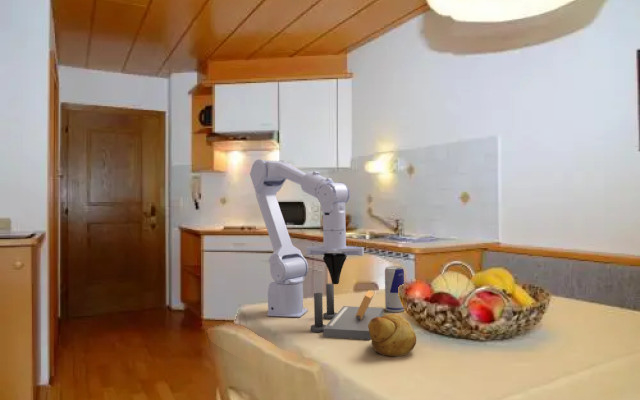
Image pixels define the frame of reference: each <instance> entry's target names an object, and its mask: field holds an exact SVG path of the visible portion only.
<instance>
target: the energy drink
mask: <svg viewBox="0 0 640 400" xmlns="http://www.w3.org/2000/svg"><path fill="white" fill-rule="evenodd" d="M402 284H404V285H405V269H404V267H402V266H396V265H395V266H391V265H390V266H386V267H385V269H384V293H385V294H384V297H385V301H384V302H385V303H384V305H385V311H387V312H389V313H402V312H404V311H405V310H404V308H403V306H402V304H401V301H400V299H399V296H398V287H399V286H400V285H402Z"/></svg>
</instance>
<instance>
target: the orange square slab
mask: <svg viewBox="0 0 640 400" xmlns="http://www.w3.org/2000/svg"><path fill="white" fill-rule="evenodd" d="M374 295H375V292H374V291H372V290H368V291H367V292H366V293H365V295H364V297H363V298H362V300H361V303H360V305H359V306H358V307H359V309H358V312H357V314H356V316H355V317H356V319H357V320H361V319H362V318H363V316H364V315H365V313H366V311H367V309H368V307H369V306H370V304H371V302H372V300H373V298H374Z"/></svg>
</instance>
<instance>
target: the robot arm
mask: <svg viewBox="0 0 640 400" xmlns="http://www.w3.org/2000/svg"><path fill="white" fill-rule="evenodd" d="M249 175H250V178H251V182H252V185H253V188H254V192H255V197H256V199H257V204H258V206H259V210H260V213H261V215H262V218H263V222H264V225H265V227H266V231H267V234H268V236H269V239H270V240H269V241H270V243H271V247H272V249H273V252H272V253H271V255H270V256H269V258H268V261H269V269H270V270H269V271H270V272H269V273H270V275H271V279H272V280H273V281H270V283H269V284H268V288H267V316H269V317H283V318H284V317H286V318H288V317H289V318H301V317H302V316H304V314H305V313H307V312H308V310H309V309H308V308H304V285H303V284H304V281H306V280H305V278H306V277H307V275H308V273H309V264H308V261H307V259H306V258H305V256H303V254H302V251H301V250H300V249H299V248H298V247H296V246H294V245H293V243H292V240H291V235H290V234H289V232H288V227H287V226H286V222H285V219H284V216H283V213H282V211H281V207H280V205H279V201H278V199H277V193H278V192H280V191H281V189H282V187H283V186H284V184H285V182H286V181H287V180H289V181H291V182H294V183H295V184H298V185H300V188H301V190H302V191H303V192H304V193H306V194H307V195H310V196H312V197H313V198H316V199H317V200H318V202H319V203H320V209H321V212H322V226H323V227H322V231H323V232H322V233H323V235H322V237H323V238H322V239H323V245H321V246H307V247H306V249H305V251H306V256H312V255H313V256H314V255H315V256H317V255H319V256H320V255H323V258H322V259H323V262H324V264H325V266H326V268H327V270H328V273H329V277H330V279H331V284H334V285H339V284H340V279H341V278H340V277H341V273H342V269H343V267H344V264H345V261H346V260H347V256H358V257H359V256H361V257H362V256H364V255H365V247H363V246H347V233H346V232H347V231H346V227H347V226H346V225H347V224H346V204H347V202H348V201H350V197H351V196H350V195H351V193H350V189H349V187H348V185H346V184H345V183H344V182H343V181H339V182H334V180H333V179H332V178H331V177H324V176H323V175H321V173H320V172H319V171H309V172H307V173H306V172H304V171H303V170H301V169H300V168H297V167H295V166H294V165H292V164H290V163H289V162H287V161H284V160H270V159H269V160H266V159H265V160H264V159H256V160H254V162H253V164H252V165H251V169H250V171H249Z"/></svg>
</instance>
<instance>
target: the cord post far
mask: <svg viewBox="0 0 640 400" xmlns="http://www.w3.org/2000/svg"><path fill="white" fill-rule="evenodd" d="M334 285H335V284H332V283H326V284H325V287H326V290H325V291H326V292H325V293H326V294H325V295H326V312H323V320H327V319H328V320H329V321H331V320H332V318H333V317H334V316H335V315H336V314H337V313H338V312H335V293H334V292H335V289H334Z"/></svg>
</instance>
